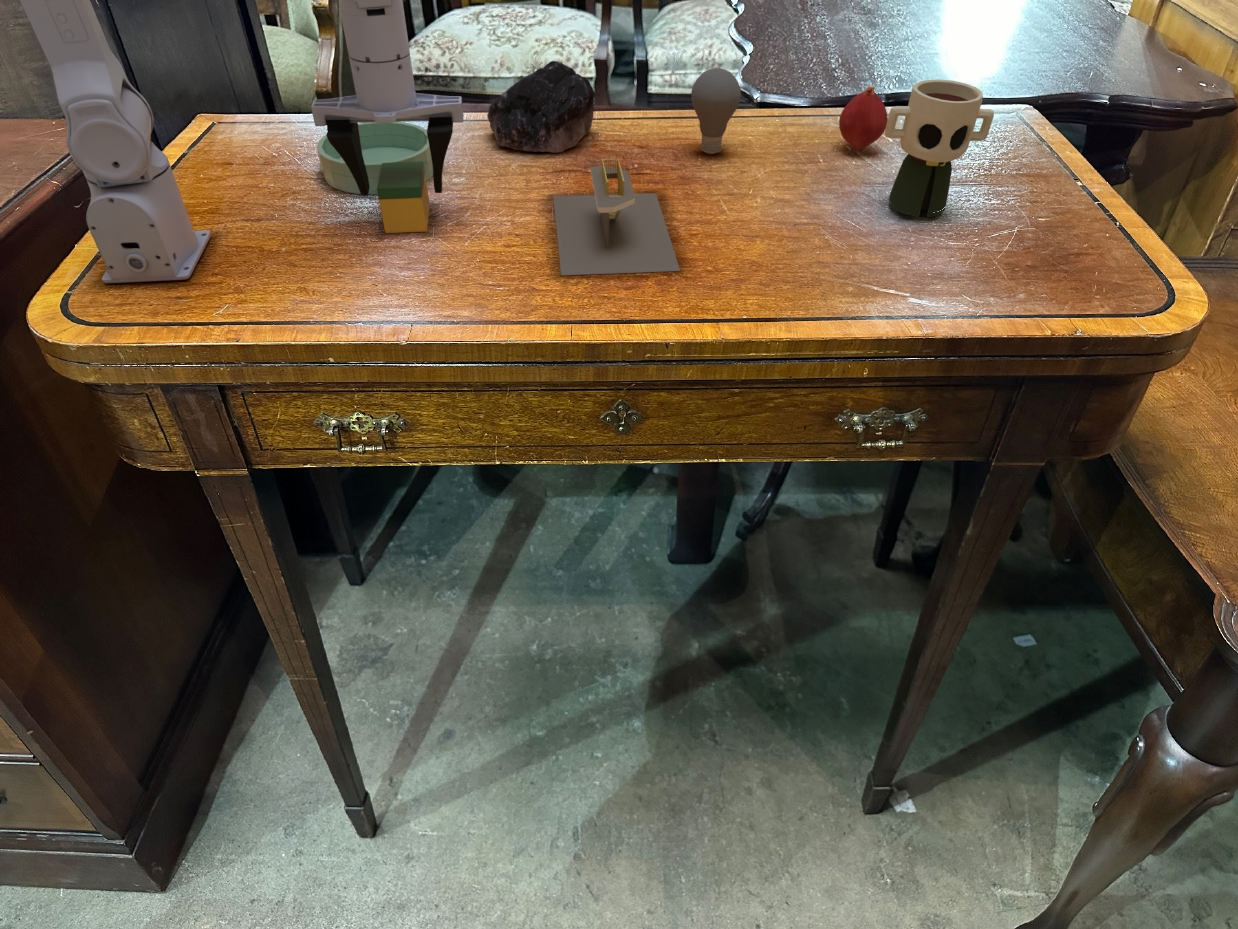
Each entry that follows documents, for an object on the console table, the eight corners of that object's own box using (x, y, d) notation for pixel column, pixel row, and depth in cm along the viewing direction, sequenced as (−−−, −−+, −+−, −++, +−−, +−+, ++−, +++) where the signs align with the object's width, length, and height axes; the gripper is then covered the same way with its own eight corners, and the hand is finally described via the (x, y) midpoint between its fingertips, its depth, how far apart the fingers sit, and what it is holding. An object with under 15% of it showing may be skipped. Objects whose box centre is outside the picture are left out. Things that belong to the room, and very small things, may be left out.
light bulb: (678, 147, 105) (684, 64, 98) (719, 140, 107) (727, 58, 100) (701, 165, 101) (708, 80, 94) (743, 157, 103) (753, 73, 96)
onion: (825, 144, 107) (837, 79, 101) (864, 139, 108) (878, 75, 103) (847, 161, 103) (861, 95, 97) (888, 156, 104) (904, 91, 99)
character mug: (872, 221, 91) (902, 100, 82) (861, 193, 96) (888, 76, 87) (971, 225, 90) (1012, 104, 82) (955, 197, 96) (991, 80, 87)
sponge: (427, 231, 87) (420, 186, 84) (385, 233, 87) (376, 188, 84) (429, 204, 92) (423, 160, 89) (390, 206, 92) (381, 162, 88)
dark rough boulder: (474, 134, 109) (462, 57, 102) (561, 106, 114) (556, 31, 106) (523, 177, 102) (514, 98, 94) (613, 146, 107) (612, 68, 99)
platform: (655, 193, 95) (658, 136, 91) (680, 270, 82) (684, 208, 78) (553, 196, 94) (550, 138, 90) (561, 275, 81) (558, 212, 77)
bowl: (434, 192, 94) (429, 162, 92) (316, 196, 93) (309, 166, 91) (438, 147, 104) (434, 119, 102) (331, 150, 103) (325, 122, 100)
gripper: (294, 68, 74) (327, 209, 84) (455, 65, 76) (470, 204, 85) (306, 45, 80) (336, 180, 89) (456, 42, 81) (471, 176, 90)
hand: (402, 190), depth 87 cm, fingers open, 7 cm apart
